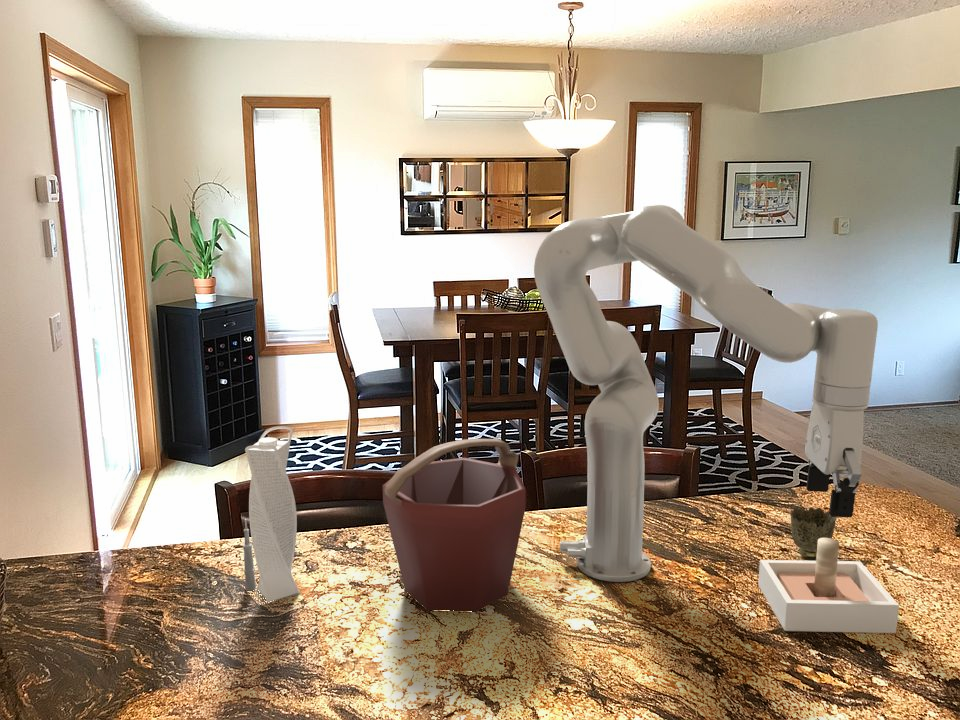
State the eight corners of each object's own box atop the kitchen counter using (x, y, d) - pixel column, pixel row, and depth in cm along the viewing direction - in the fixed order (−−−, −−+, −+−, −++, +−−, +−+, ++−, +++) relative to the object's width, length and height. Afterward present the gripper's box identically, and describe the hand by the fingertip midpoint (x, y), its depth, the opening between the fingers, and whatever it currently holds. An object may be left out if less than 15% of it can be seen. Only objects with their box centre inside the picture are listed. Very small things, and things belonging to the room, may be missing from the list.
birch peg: (816, 606, 124) (821, 545, 122) (810, 596, 127) (814, 537, 125) (836, 606, 124) (842, 546, 122) (829, 597, 127) (834, 537, 125)
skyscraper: (292, 576, 138) (281, 419, 132) (311, 595, 132) (301, 431, 126) (243, 590, 134) (230, 428, 128) (261, 611, 127) (248, 441, 121)
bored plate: (799, 619, 120) (800, 607, 120) (776, 584, 131) (777, 572, 131) (874, 621, 120) (876, 608, 119) (846, 585, 130) (847, 573, 130)
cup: (825, 547, 146) (828, 506, 144) (838, 566, 139) (842, 523, 137) (782, 546, 147) (785, 505, 145) (793, 565, 140) (797, 521, 138)
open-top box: (784, 630, 119) (786, 602, 118) (758, 585, 133) (759, 559, 132) (896, 633, 118) (899, 605, 117) (857, 586, 132) (860, 561, 131)
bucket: (504, 549, 147) (503, 417, 142) (556, 607, 127) (557, 455, 122) (372, 572, 139) (366, 433, 134) (405, 637, 119) (399, 476, 113)
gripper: (795, 379, 127) (785, 481, 131) (836, 409, 110) (823, 526, 114) (844, 380, 127) (832, 483, 130) (893, 411, 110) (877, 528, 114)
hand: (828, 503), depth 122 cm, fingers open, 9 cm apart
